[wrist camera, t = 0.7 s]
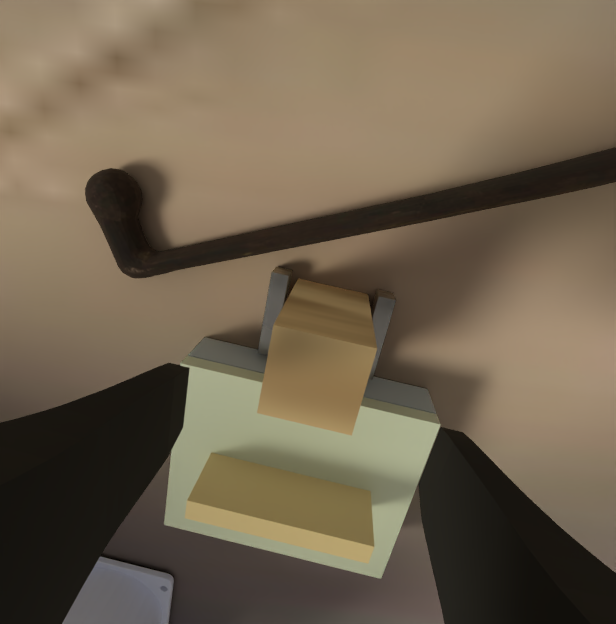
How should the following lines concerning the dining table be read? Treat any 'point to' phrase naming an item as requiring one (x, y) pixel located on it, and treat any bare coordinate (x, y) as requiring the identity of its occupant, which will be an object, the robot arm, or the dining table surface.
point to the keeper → (278, 297)
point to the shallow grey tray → (257, 362)
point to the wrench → (474, 197)
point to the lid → (293, 473)
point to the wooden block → (319, 357)
